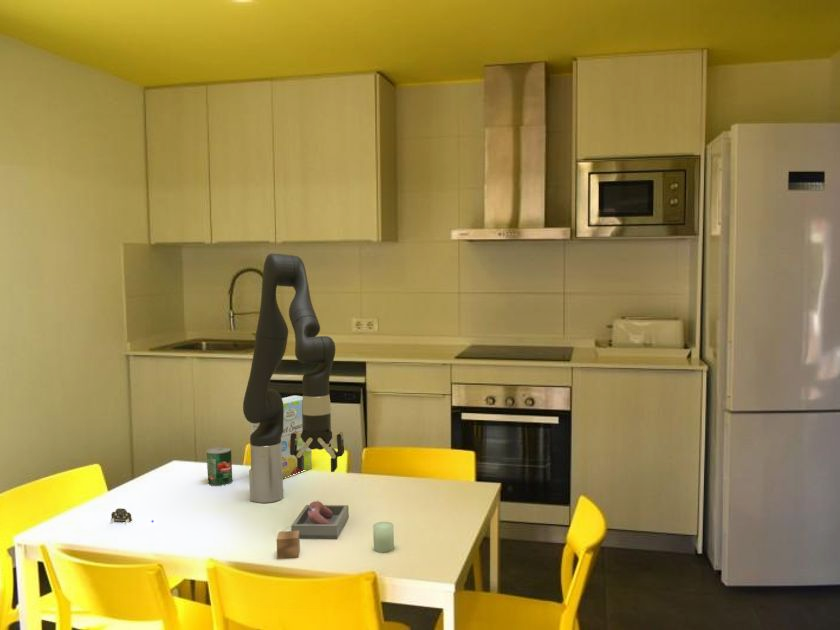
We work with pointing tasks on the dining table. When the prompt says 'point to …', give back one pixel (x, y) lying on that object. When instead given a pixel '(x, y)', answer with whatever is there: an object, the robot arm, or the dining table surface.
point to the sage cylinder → (383, 537)
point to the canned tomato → (219, 466)
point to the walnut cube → (288, 544)
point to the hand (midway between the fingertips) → (317, 470)
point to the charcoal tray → (321, 530)
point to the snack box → (290, 424)
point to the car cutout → (121, 516)
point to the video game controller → (319, 513)
